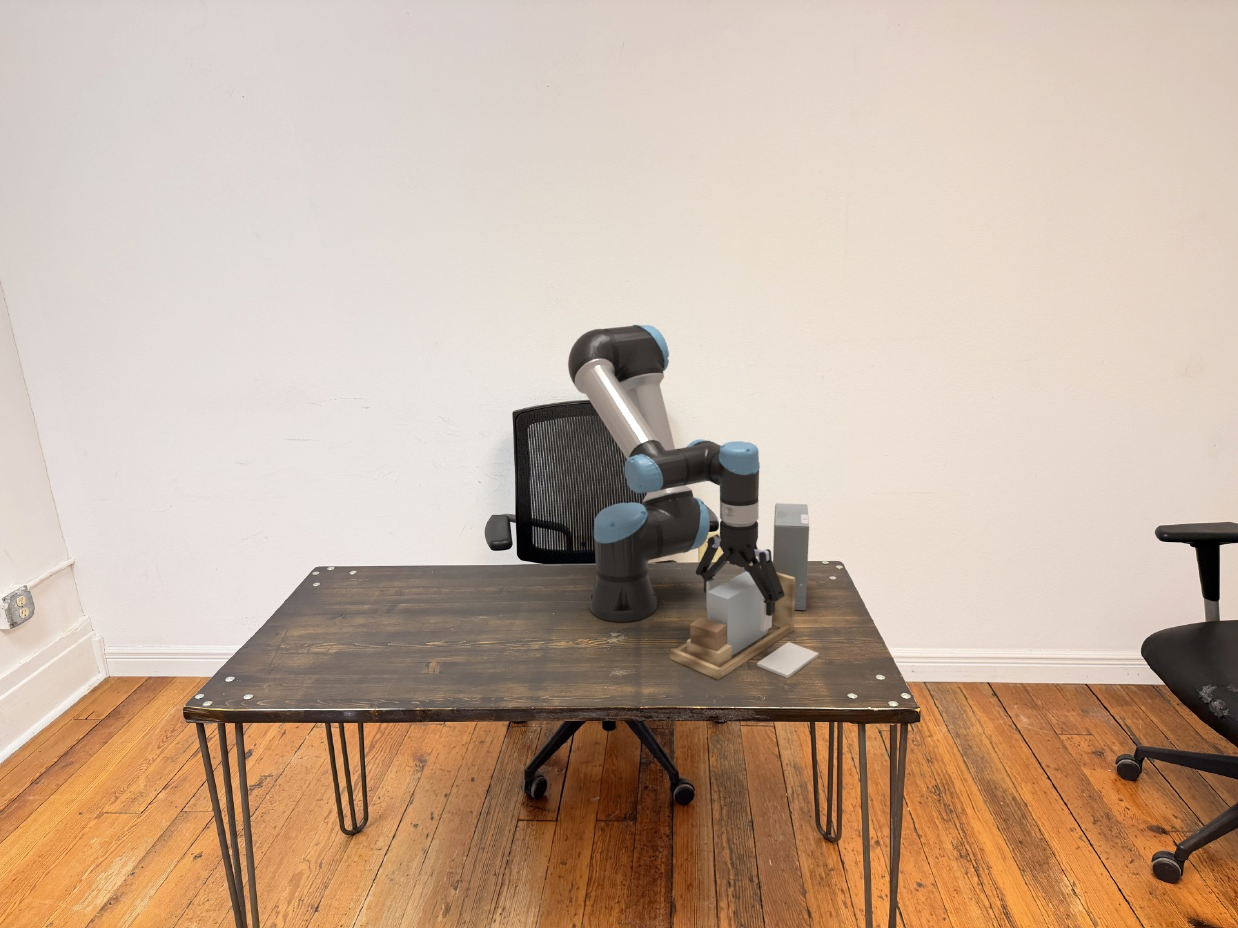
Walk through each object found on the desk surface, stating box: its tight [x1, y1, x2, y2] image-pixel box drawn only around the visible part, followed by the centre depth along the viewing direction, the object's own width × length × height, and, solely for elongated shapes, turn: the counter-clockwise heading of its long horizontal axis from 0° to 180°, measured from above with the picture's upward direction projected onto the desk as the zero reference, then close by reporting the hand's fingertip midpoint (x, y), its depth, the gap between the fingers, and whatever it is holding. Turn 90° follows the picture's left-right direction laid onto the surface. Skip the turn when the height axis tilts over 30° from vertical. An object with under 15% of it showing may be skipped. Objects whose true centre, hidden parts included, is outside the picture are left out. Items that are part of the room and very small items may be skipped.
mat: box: [756, 641, 820, 679], centre depth 161 cm, size 7×11×1 cm, turn 136°
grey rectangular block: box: [706, 571, 769, 656], centre depth 167 cm, size 5×14×13 cm, turn 136°
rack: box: [669, 563, 796, 681], centre depth 166 cm, size 12×26×12 cm, turn 136°
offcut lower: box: [686, 638, 733, 668], centre depth 161 cm, size 8×4×4 cm, turn 45°
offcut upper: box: [689, 617, 726, 651], centre depth 160 cm, size 6×4×4 cm, turn 53°
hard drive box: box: [772, 502, 810, 611], centre depth 186 cm, size 16×8×20 cm, turn 168°
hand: (738, 618), depth 167 cm, fingers open, 13 cm apart
